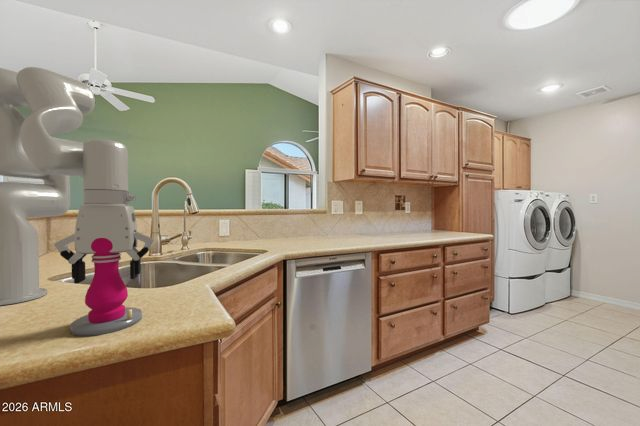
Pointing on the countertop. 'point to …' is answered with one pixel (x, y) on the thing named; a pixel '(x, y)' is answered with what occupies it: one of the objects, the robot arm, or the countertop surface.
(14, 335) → the countertop surface
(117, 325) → the grey flat disc
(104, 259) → the pepper mill
